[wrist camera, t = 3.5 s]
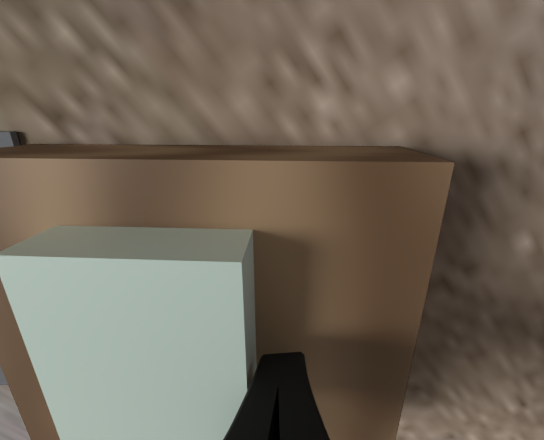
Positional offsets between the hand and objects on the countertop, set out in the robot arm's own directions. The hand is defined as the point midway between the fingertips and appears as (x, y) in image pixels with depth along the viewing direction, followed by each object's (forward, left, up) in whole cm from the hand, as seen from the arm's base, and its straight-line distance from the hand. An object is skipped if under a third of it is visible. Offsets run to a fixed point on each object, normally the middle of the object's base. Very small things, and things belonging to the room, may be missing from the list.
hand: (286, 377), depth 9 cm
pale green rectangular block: (+4, 0, -1) cm, 4 cm away
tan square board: (+3, 0, -5) cm, 6 cm away
